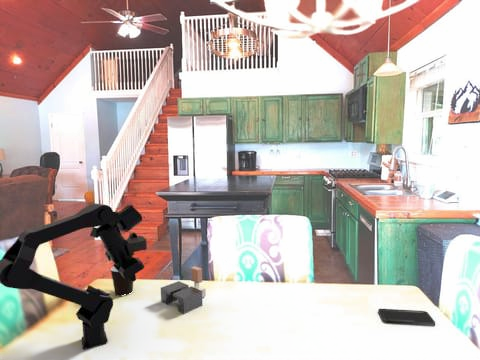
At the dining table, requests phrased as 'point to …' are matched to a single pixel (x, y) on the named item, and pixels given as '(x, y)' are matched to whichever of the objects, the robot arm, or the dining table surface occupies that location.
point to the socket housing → (182, 296)
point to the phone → (406, 317)
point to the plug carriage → (197, 279)
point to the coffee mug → (121, 283)
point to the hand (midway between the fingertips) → (134, 280)
